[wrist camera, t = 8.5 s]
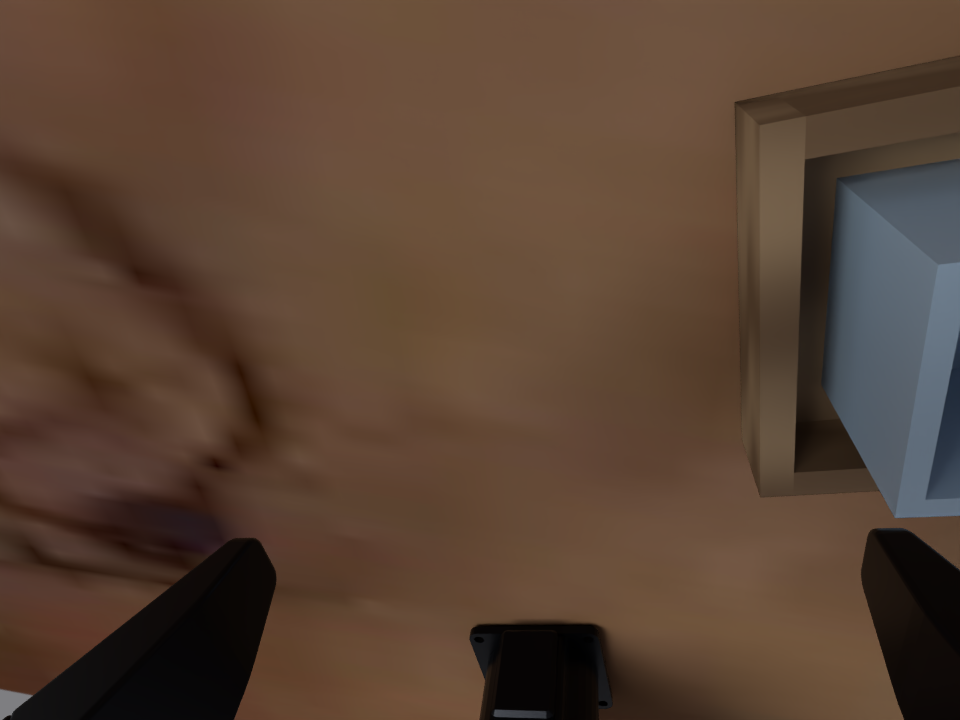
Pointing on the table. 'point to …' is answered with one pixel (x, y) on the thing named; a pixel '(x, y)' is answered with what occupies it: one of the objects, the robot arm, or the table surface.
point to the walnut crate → (815, 252)
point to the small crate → (899, 331)
